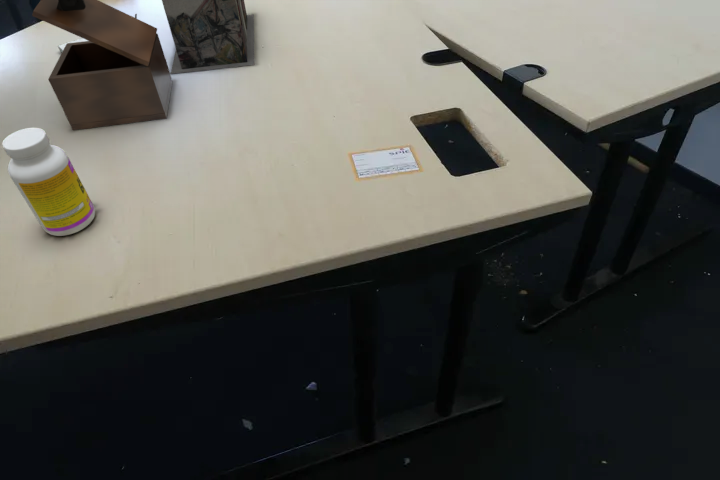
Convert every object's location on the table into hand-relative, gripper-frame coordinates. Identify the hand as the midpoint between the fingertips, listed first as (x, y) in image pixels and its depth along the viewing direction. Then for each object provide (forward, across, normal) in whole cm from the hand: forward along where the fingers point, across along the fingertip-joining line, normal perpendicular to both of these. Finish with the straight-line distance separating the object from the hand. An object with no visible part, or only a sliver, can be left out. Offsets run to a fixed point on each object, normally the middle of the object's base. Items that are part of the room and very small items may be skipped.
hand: (78, 0), depth 80 cm
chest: (+18, 0, +1) cm, 18 cm away
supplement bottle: (+18, +30, -2) cm, 35 cm away
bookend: (+17, -22, +16) cm, 32 cm away
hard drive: (+18, -25, -8) cm, 32 cm away
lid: (+4, 0, +2) cm, 4 cm away
